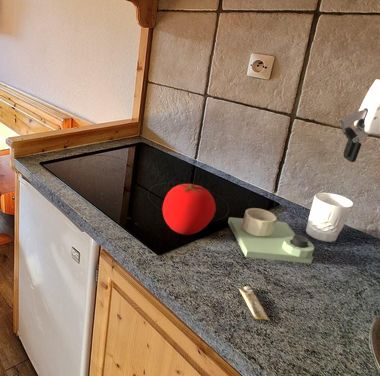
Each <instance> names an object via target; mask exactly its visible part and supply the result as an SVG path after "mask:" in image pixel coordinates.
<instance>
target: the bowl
mask: <svg viewBox="0 0 380 376" xmlns="http://www.w3.org/2000/svg"><path fill="white" fill-rule="evenodd" d="M277 218H278V217H277V216H276V214H274V213H273V212H271V211H269V210H266V209H263V208H256V207H251V208H247V209H245V212H244V216H243V223H242V227H243V229H244V230H245V231H246V232H248V233H250V234H252V235H255V236H260V237H264V236H269V235H271V234H272V232H273V229H274V226H275V222H276V221H277Z"/></svg>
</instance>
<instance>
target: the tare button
mask: <svg viewBox="0 0 380 376" xmlns="http://www.w3.org/2000/svg"><path fill="white" fill-rule="evenodd" d="M308 241H309V238H307V237H306V236H304V235H300V234H295V235H294V236H293V239H292V242H291V244H293V245H294V246H297V247H300V248H306V247H307V244H308ZM309 242H310V241H309Z"/></svg>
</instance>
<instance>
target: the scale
mask: <svg viewBox="0 0 380 376" xmlns="http://www.w3.org/2000/svg"><path fill="white" fill-rule="evenodd" d="M243 219H244V217H243V218H241V217H232V216H231V217H228V221H227V224H228V226H229V227H230V230H231V231H232V234H233V236H234V237H235V239H236V241H237V243H238V245H239V247H240V249H241V251H242V253H243V254H244V256H245V258H249V259H250V258H251V259H252V258H253V259H262V260H271V261H282V262H291V263H303V264H312V262H313V259H314V257H313V253H314V250H315V246H314V244H313V243H312V242H311V241H308V244H307V247H306V248H300V247H297V246H294V245H293V244H291V242H292V239H293V236H294V235H296V234H295V232H294V230H293V229H292V228H291V227H290V226H289V224H288V223H287V222H286V221H277V220H276V222H275V226H274V229H273V232H272V234H271V235H269V236H264V237H260V236H255V235H252V234H250V233H248V232H246V231H245V230H244V229H243V227H242V223H243Z"/></svg>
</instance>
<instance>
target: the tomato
mask: <svg viewBox="0 0 380 376" xmlns="http://www.w3.org/2000/svg"><path fill="white" fill-rule="evenodd" d="M216 209H217V207H216V202H215V199H214V197H213V195H212V194H211V192H210V191H209V190H208V189H206V188H205V187H203V186H201V185H198V184H193V183H191V182H190V183H182V184H177V185H176V186H174V187H172V188H171V189H170V190H169V191H168V192H167V193H166V195H165V197H164V200H163V203H162V215H163V216H162V217H163V219H164V221H165V224H166V225H167V226H168V227H169V228H170V229H171V230H172V231H173V232H176V233H177V234H178V235H179V234H180V235H183V236H191V235H195V234H197V233H199V232H200V231H202V230H204V229H205V228H206V227H207V226H208V225H209V224H210V222H211V221H212V220H213V218H214V217H215V213H216V211H217V210H216Z"/></svg>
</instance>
